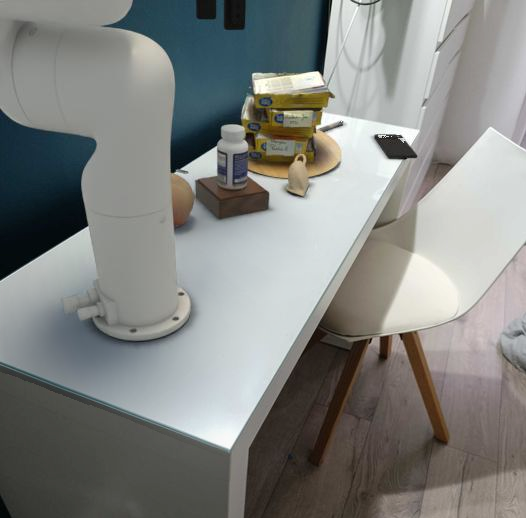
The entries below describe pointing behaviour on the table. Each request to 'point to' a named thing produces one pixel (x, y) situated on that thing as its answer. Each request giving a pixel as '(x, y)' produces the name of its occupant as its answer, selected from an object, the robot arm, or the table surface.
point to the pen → (330, 126)
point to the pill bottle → (232, 158)
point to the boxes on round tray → (288, 124)
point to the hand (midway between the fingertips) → (219, 24)
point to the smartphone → (395, 146)
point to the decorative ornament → (298, 177)
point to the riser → (231, 197)
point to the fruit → (181, 199)
